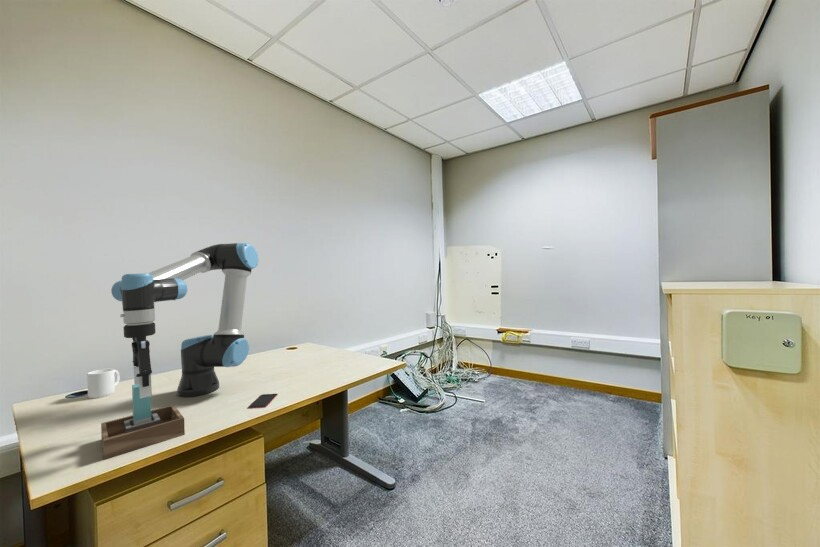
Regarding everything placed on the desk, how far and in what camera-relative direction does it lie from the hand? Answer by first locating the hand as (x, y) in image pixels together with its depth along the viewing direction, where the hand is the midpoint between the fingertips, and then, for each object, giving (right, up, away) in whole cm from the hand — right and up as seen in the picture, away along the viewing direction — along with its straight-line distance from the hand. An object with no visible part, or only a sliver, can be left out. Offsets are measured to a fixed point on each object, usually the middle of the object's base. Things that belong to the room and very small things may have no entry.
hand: (142, 391), depth 100 cm
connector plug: (0, -12, -1) cm, 12 cm away
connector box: (+2, -13, -2) cm, 13 cm away
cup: (-48, -15, +39) cm, 63 cm away
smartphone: (+26, -13, +24) cm, 38 cm away
